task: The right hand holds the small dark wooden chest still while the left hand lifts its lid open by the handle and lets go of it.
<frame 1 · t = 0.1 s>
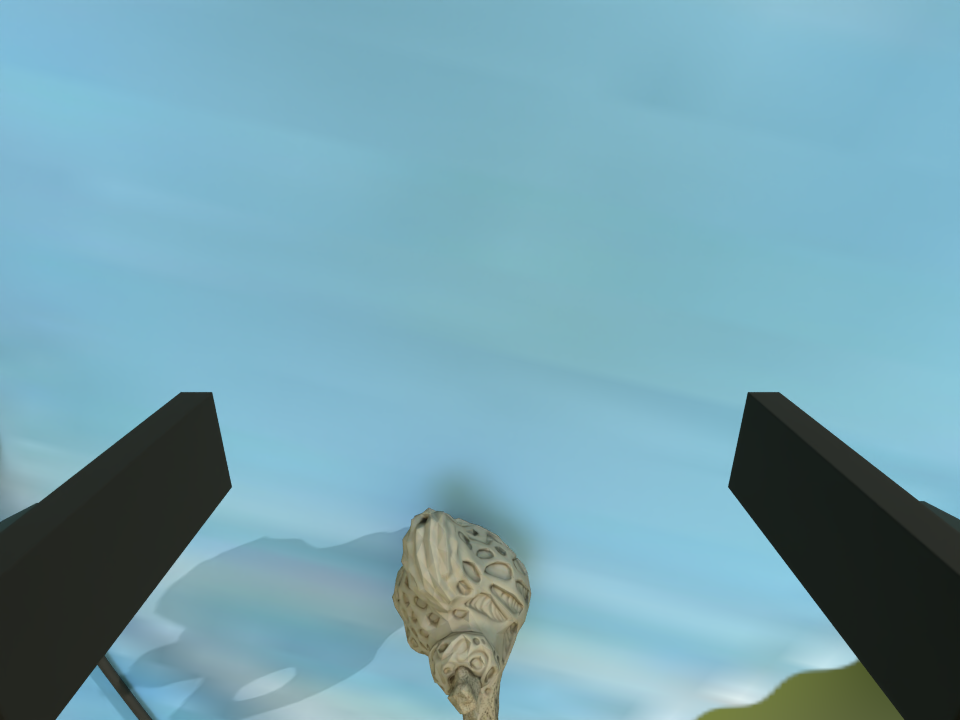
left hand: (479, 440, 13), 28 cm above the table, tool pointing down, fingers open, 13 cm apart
cream patterned rounded piece: (466, 554, 49), on the table
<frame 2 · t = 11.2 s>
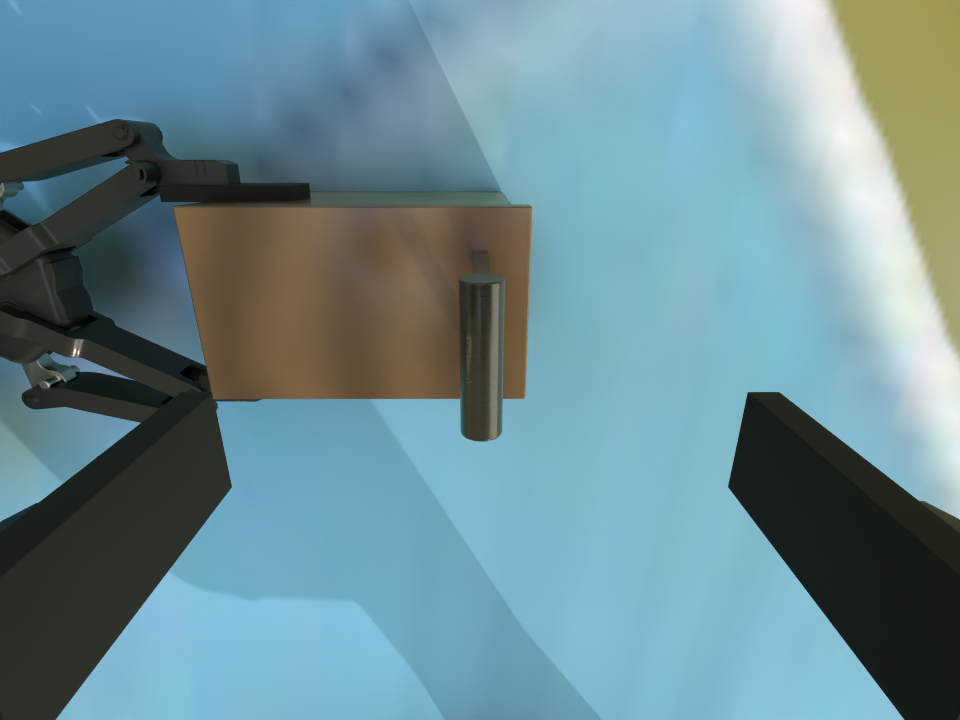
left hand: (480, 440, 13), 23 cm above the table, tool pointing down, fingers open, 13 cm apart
right hand: (312, 287, 28), fingers closed on chest, 9 cm apart
chest: (390, 264, 35), on the table, touching right hand
lid: (345, 329, 21), point 14 cm above the table, hinge at 0.0°
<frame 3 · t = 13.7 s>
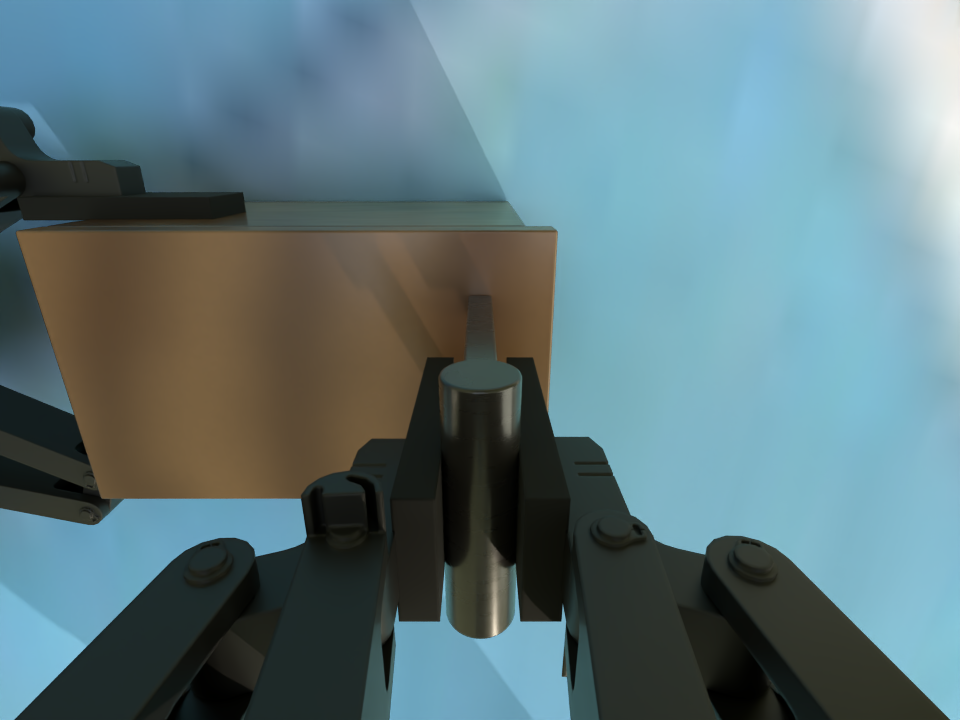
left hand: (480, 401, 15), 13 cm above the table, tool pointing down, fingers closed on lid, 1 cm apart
chest: (364, 294, 27), on the table, touching right hand
lid: (269, 424, 14), point 14 cm above the table, hinge at 0.1°, touching left hand
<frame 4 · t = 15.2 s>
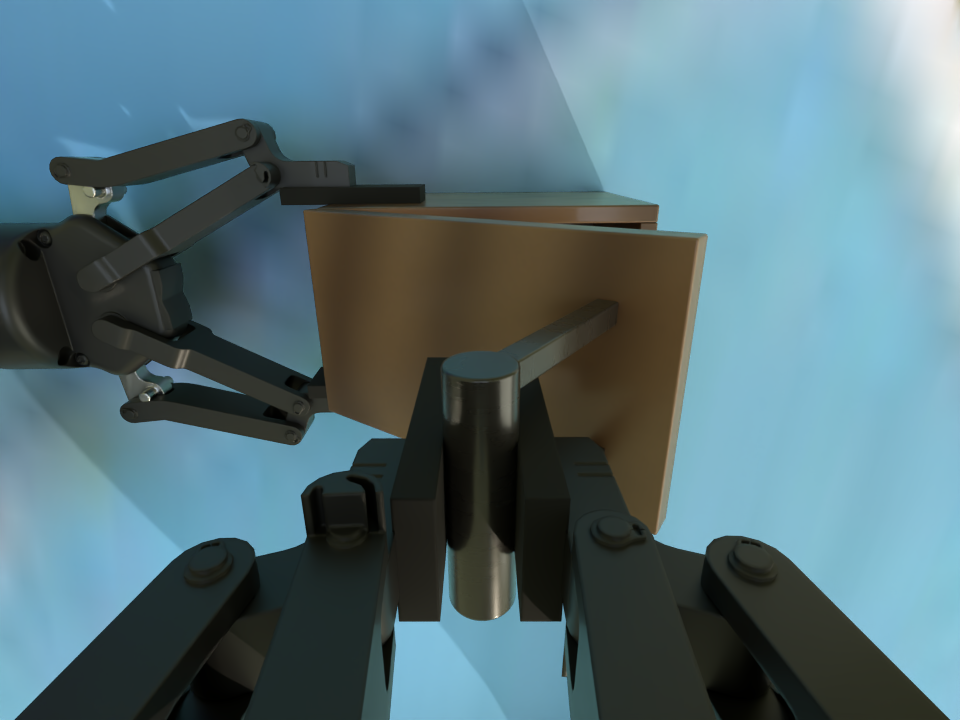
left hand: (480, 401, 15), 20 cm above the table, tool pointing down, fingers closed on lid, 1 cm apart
right hand: (427, 293, 27), fingers closed on chest, 9 cm apart
chest: (485, 267, 33), on the table, touching right hand
lid: (397, 379, 16), point 18 cm above the table, hinge at 35.2°, touching left hand
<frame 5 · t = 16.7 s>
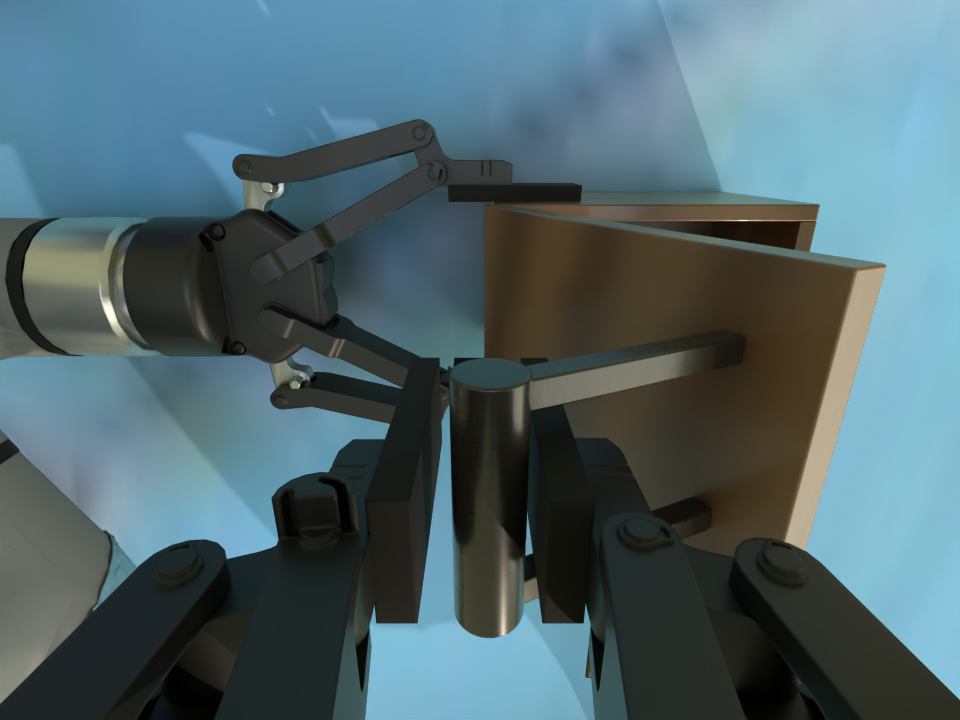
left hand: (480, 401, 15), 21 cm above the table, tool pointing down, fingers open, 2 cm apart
right hand: (570, 287, 28), fingers closed on chest, 9 cm apart
chest: (601, 264, 35), on the table, touching right hand
lid: (504, 377, 17), point 19 cm above the table, hinge at 64.3°
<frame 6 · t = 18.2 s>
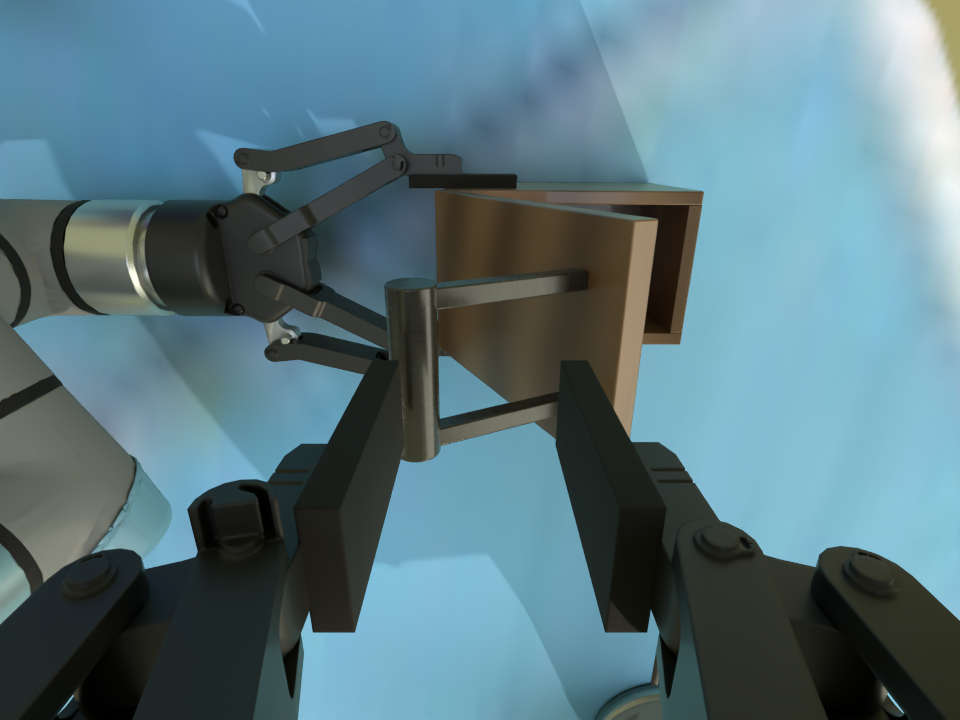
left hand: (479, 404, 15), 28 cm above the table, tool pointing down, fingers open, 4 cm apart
right hand: (512, 260, 34), fingers closed on chest, 9 cm apart
chest: (548, 244, 40), on the table, touching right hand
lid: (441, 314, 23), point 19 cm above the table, hinge at 62.5°
when the right hand's fingers open (7 cm above the table, at t = 20.8 s): chest stays where it is, on the table.
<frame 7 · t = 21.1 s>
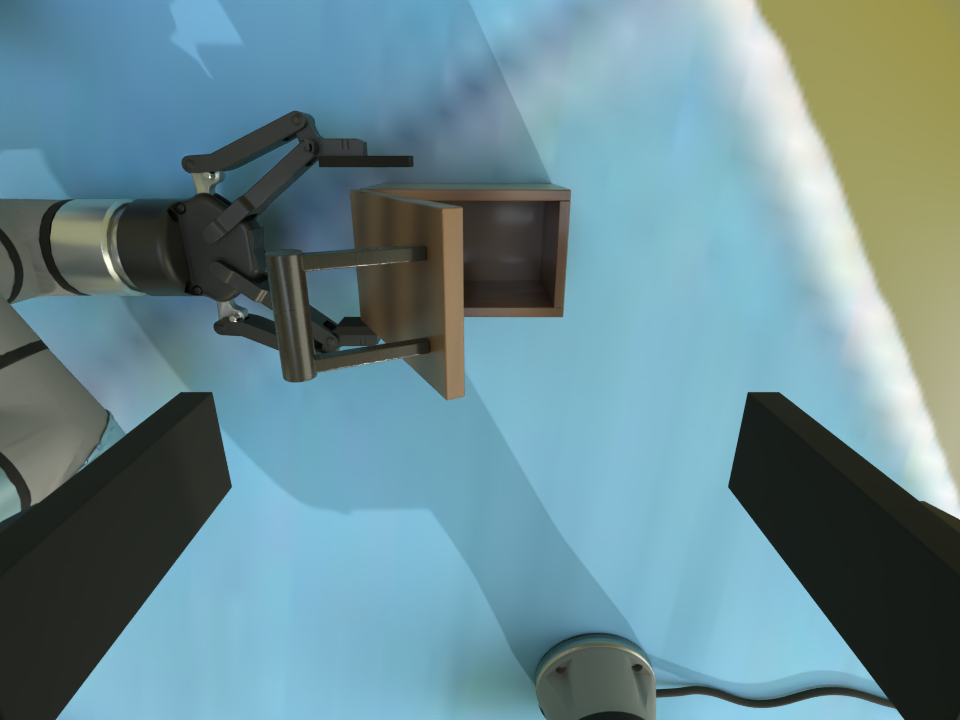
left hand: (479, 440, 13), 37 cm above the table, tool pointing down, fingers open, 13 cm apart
right hand: (415, 248, 41), fingers open, 12 cm apart
chest: (468, 236, 47), on the table
lid: (338, 284, 29), point 19 cm above the table, hinge at 62.3°
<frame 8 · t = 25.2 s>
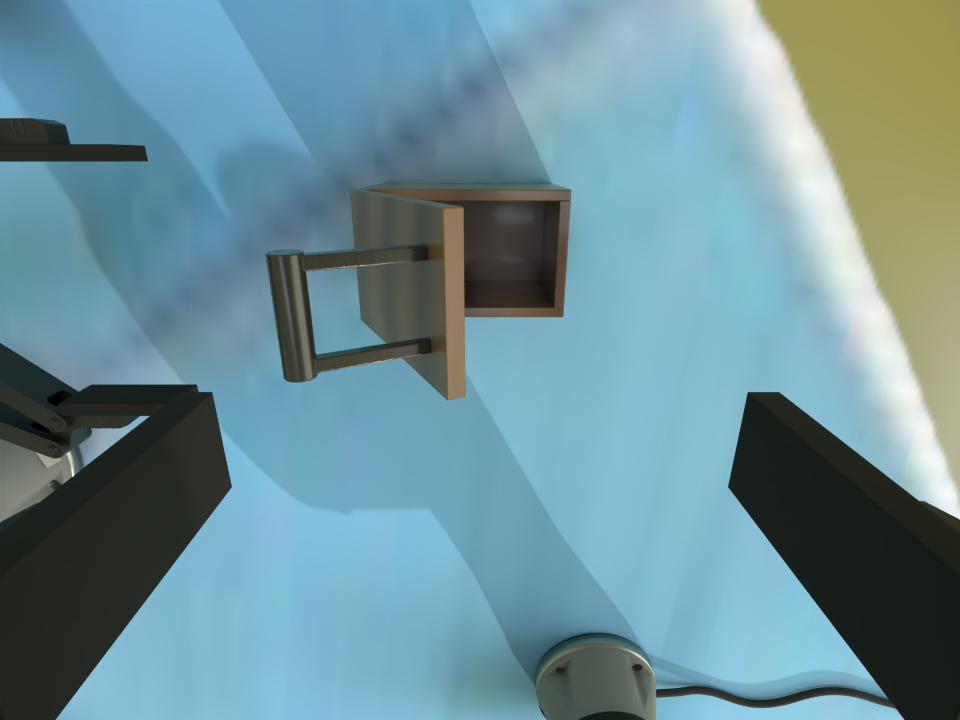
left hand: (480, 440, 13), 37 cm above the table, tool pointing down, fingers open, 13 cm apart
chest: (468, 236, 47), on the table
lid: (338, 284, 29), point 19 cm above the table, hinge at 62.3°
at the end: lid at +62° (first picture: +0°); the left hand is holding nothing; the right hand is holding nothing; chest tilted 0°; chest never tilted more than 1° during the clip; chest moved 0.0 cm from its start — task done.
